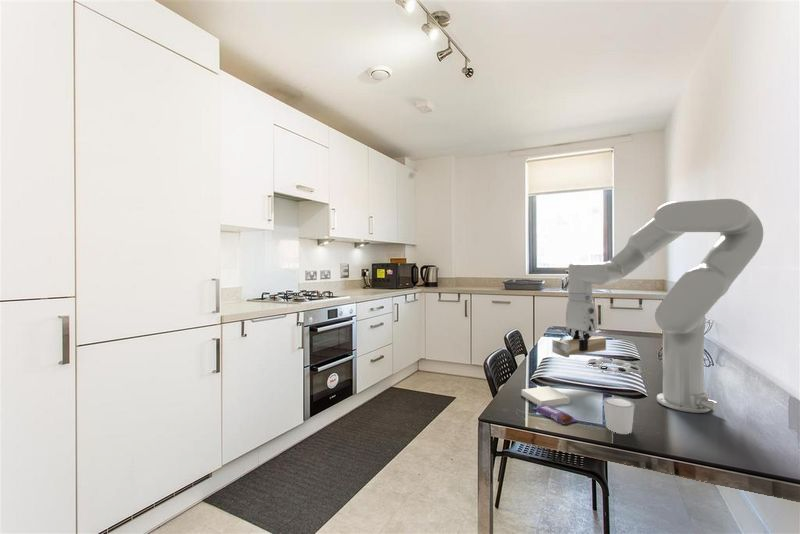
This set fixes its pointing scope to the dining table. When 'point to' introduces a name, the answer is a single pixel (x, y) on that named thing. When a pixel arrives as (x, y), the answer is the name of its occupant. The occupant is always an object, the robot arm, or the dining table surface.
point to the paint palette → (618, 362)
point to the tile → (545, 396)
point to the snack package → (555, 414)
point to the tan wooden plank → (572, 346)
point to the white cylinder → (618, 414)
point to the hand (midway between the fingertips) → (580, 349)
